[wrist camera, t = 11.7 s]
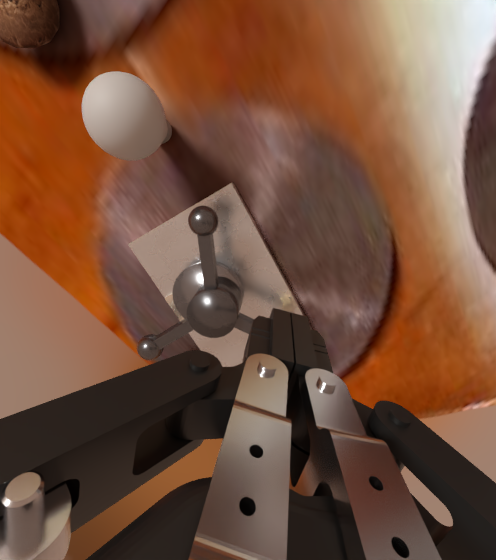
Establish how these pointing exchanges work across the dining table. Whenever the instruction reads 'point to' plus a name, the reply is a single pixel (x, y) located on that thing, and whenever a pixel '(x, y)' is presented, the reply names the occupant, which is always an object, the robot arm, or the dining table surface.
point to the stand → (229, 251)
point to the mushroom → (28, 22)
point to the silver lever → (202, 293)
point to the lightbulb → (124, 116)
